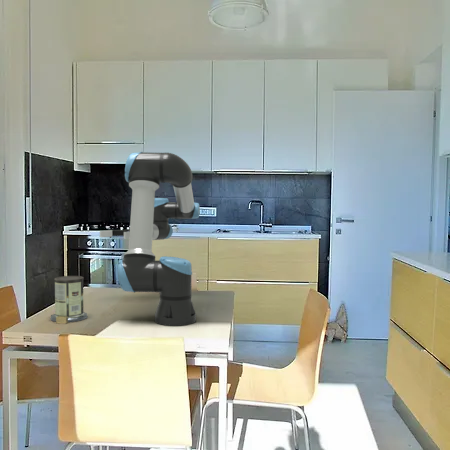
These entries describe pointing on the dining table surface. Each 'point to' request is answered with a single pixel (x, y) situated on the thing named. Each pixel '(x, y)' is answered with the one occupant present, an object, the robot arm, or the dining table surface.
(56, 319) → the lock base
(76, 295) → the coffee can
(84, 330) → the dining table surface
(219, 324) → the dining table surface
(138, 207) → the robot arm
